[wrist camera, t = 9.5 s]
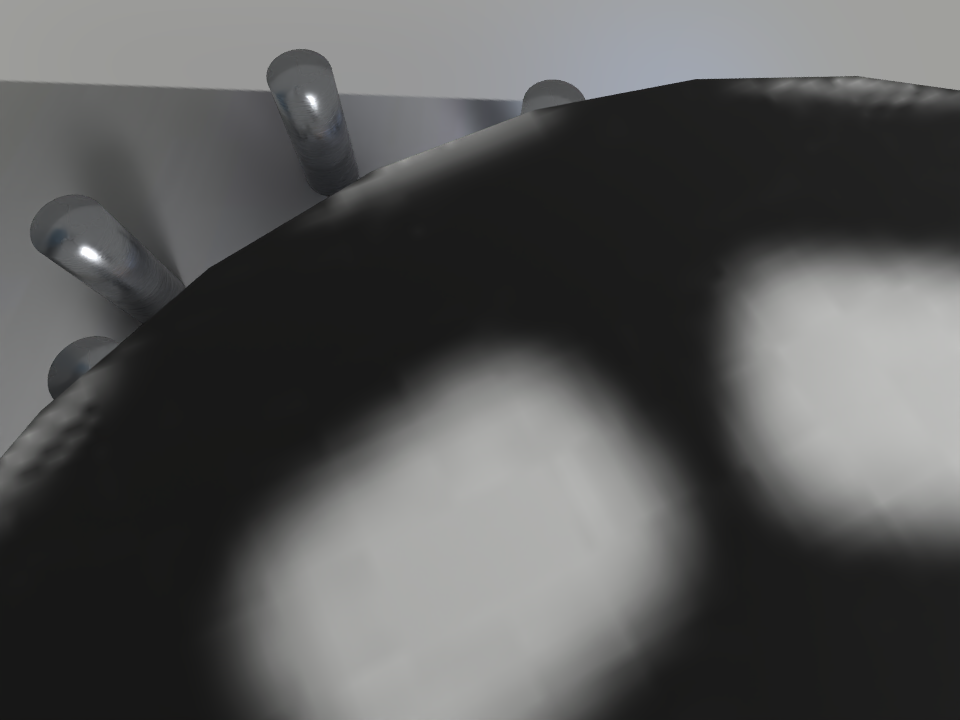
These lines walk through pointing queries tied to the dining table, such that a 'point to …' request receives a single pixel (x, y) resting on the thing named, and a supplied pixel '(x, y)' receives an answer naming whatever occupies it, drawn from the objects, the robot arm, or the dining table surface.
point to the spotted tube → (532, 437)
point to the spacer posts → (138, 273)
